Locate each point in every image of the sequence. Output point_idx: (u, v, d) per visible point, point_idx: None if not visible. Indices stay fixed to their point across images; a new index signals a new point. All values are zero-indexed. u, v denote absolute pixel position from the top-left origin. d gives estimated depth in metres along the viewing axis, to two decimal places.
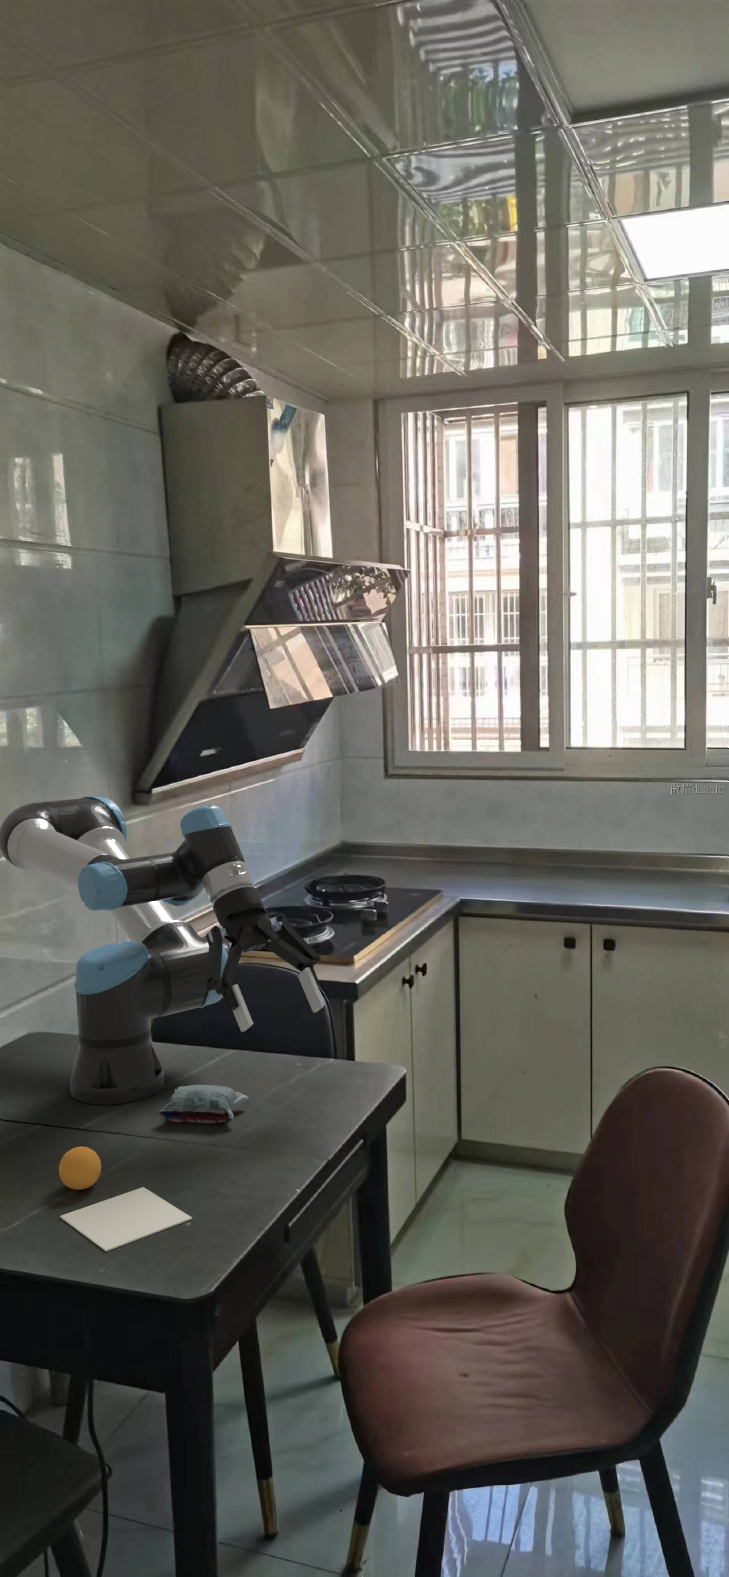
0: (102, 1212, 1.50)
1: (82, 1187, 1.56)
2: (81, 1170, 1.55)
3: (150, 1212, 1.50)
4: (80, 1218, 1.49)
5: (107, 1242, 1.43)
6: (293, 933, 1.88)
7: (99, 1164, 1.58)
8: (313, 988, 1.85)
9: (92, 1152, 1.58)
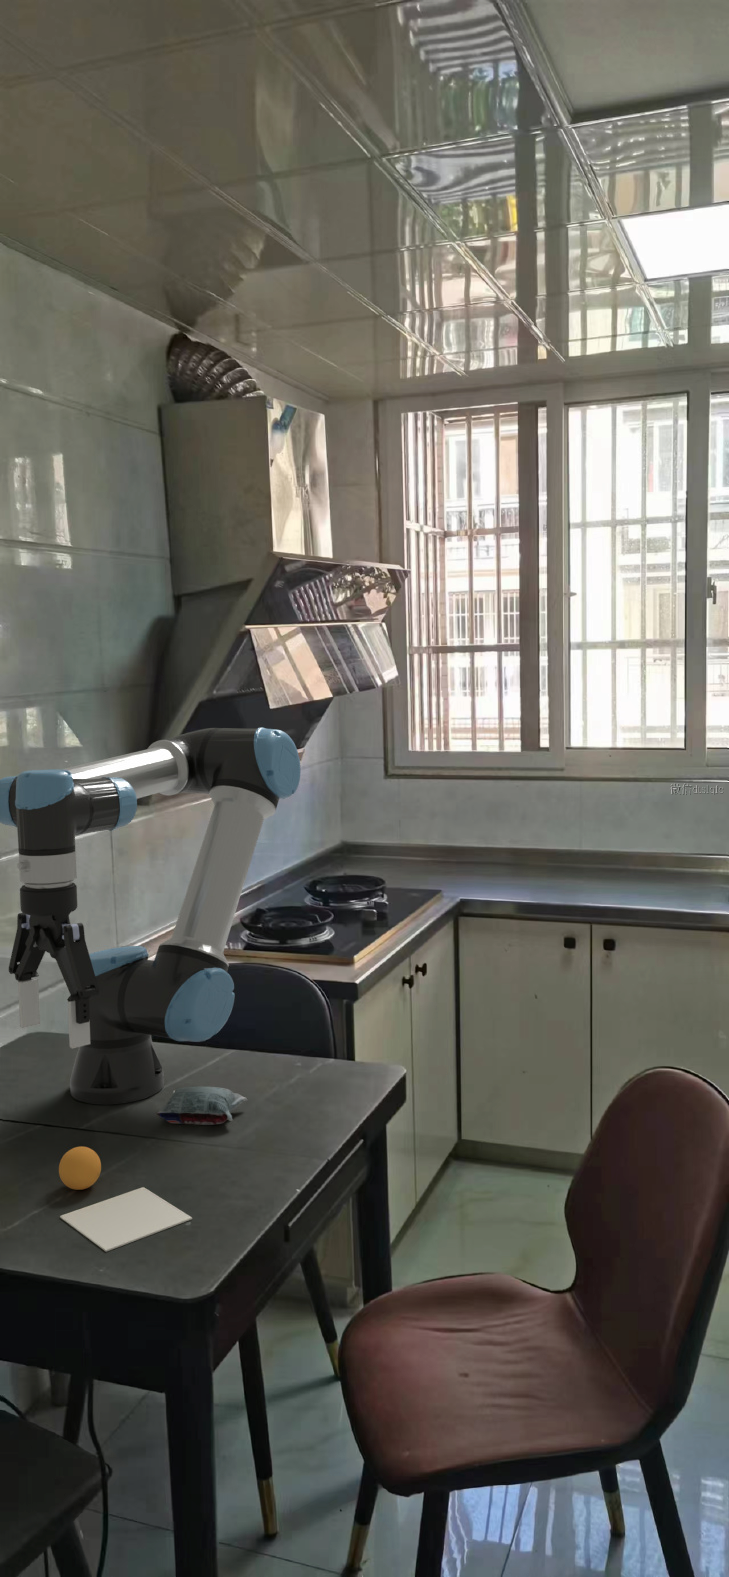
0: (102, 1212, 1.50)
1: (82, 1187, 1.56)
2: (81, 1170, 1.55)
3: (150, 1212, 1.50)
4: (80, 1218, 1.49)
5: (107, 1242, 1.43)
6: (69, 955, 1.56)
7: (99, 1164, 1.58)
8: None
9: (92, 1152, 1.58)
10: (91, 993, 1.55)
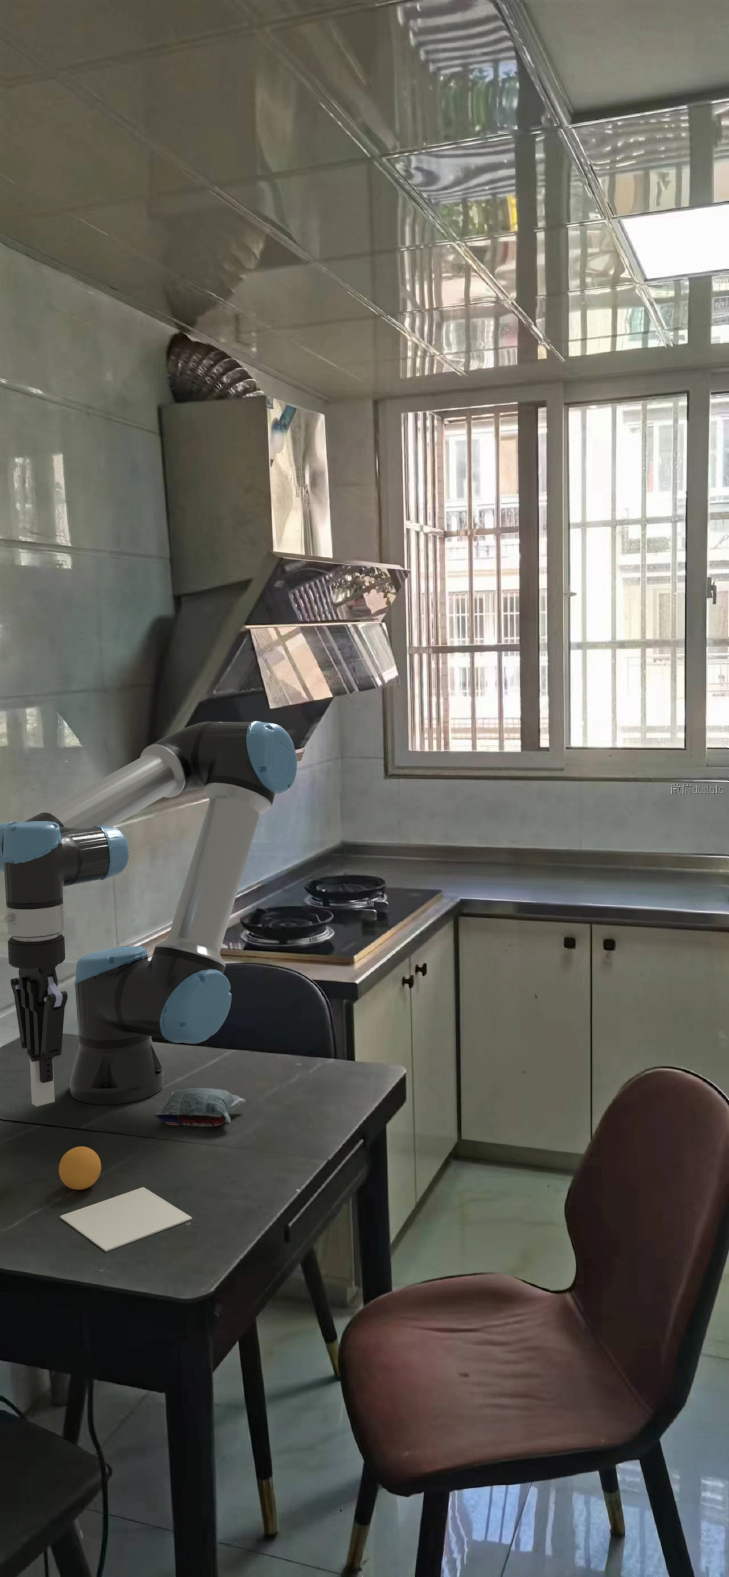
0: (102, 1212, 1.50)
1: (82, 1187, 1.56)
2: (81, 1170, 1.55)
3: (150, 1212, 1.50)
4: (80, 1218, 1.49)
5: (107, 1242, 1.43)
6: (45, 1018, 1.59)
7: (99, 1164, 1.58)
8: None
9: (92, 1152, 1.58)
10: (53, 1054, 1.60)
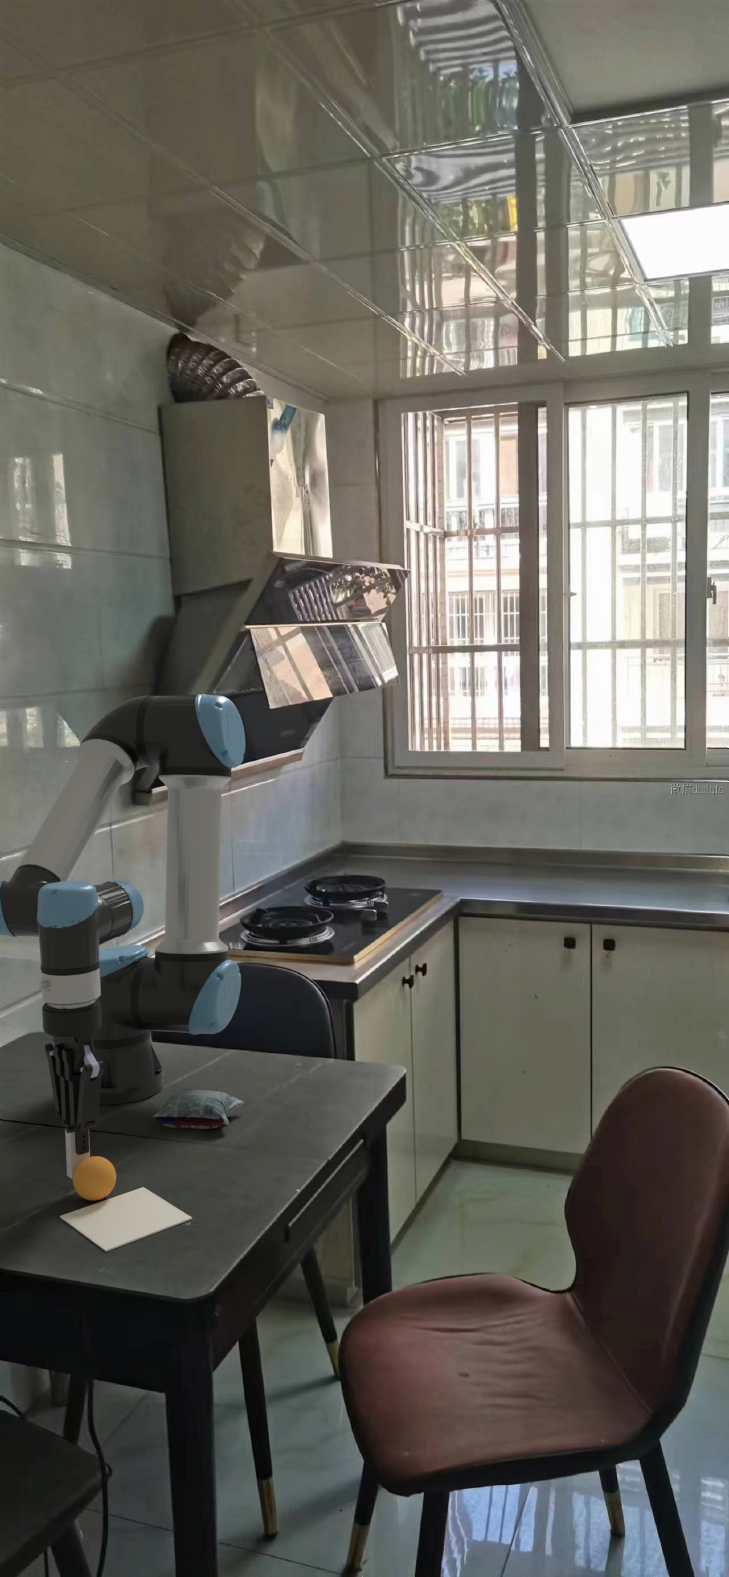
0: (102, 1212, 1.50)
1: None
2: (94, 1198, 1.53)
3: (150, 1212, 1.50)
4: (80, 1218, 1.49)
5: (107, 1242, 1.43)
6: (81, 1089, 1.52)
7: (113, 1187, 1.55)
8: None
9: (112, 1181, 1.54)
10: (89, 1125, 1.53)
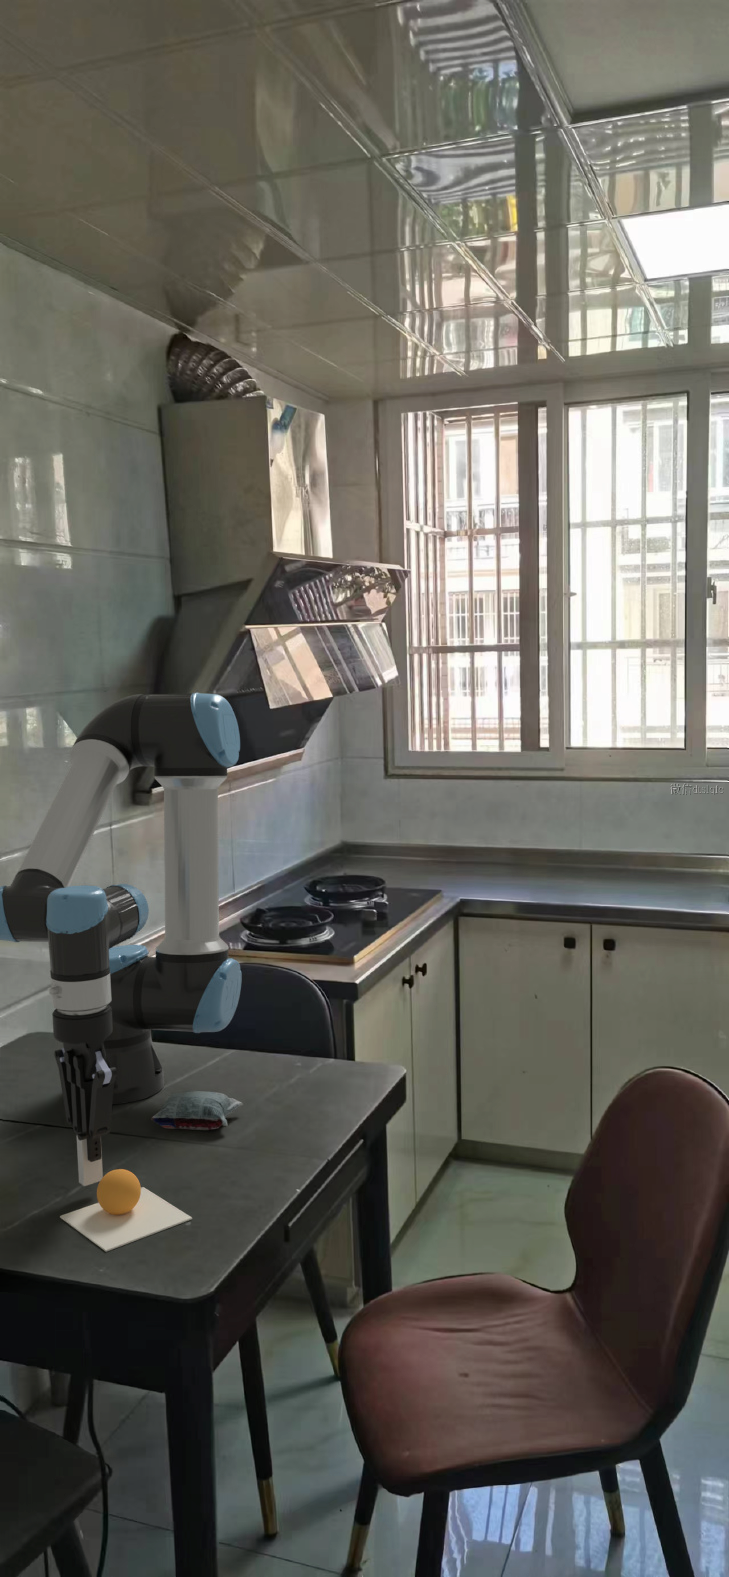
0: (102, 1212, 1.50)
1: (107, 1173, 1.51)
2: None
3: (150, 1212, 1.50)
4: (80, 1218, 1.49)
5: (107, 1242, 1.43)
6: (93, 1096, 1.50)
7: None
8: None
9: None
10: (102, 1132, 1.52)
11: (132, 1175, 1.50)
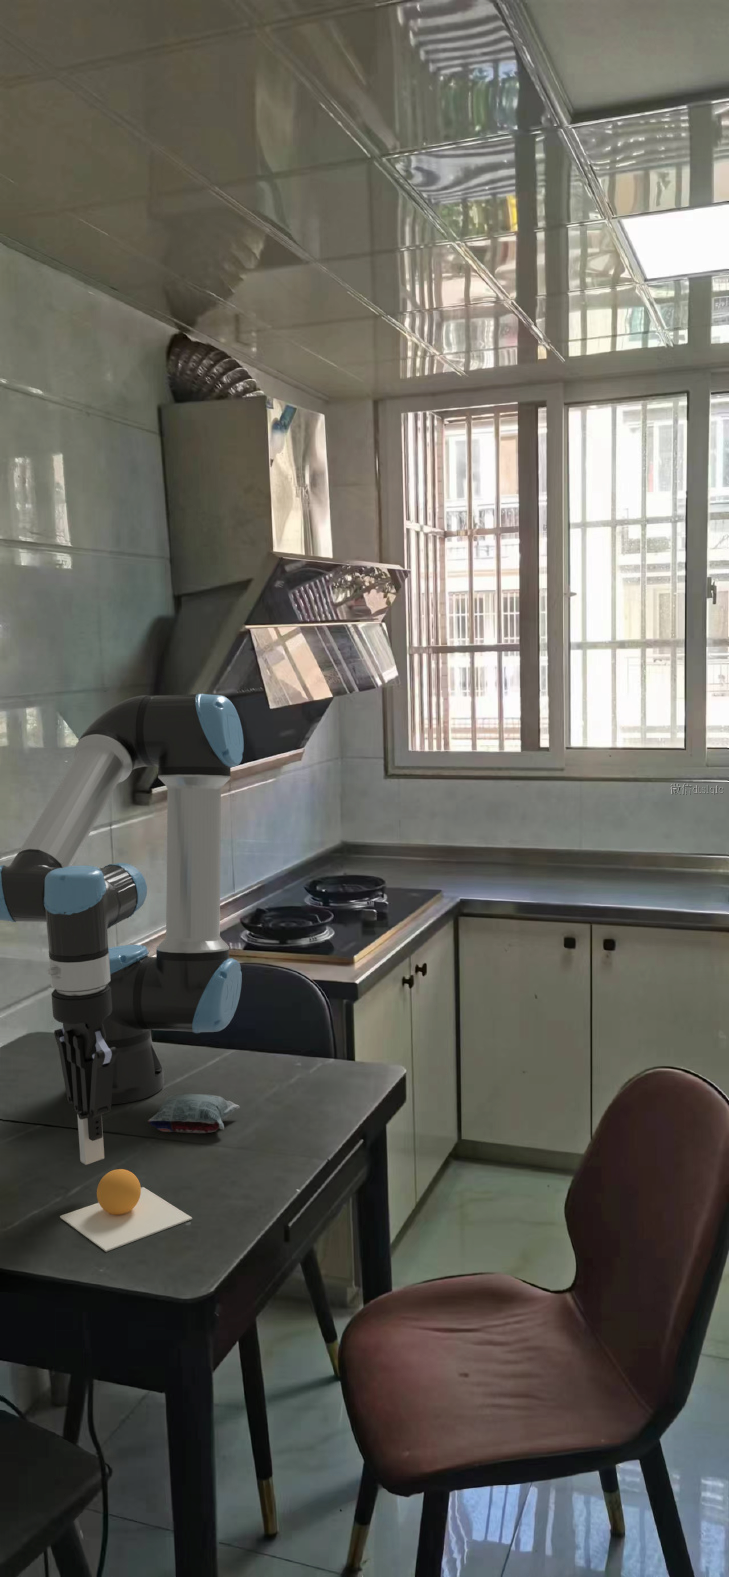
0: (102, 1212, 1.50)
1: None
2: None
3: (150, 1212, 1.50)
4: (80, 1218, 1.49)
5: (107, 1242, 1.43)
6: (93, 1076, 1.50)
7: None
8: None
9: None
10: (102, 1111, 1.52)
11: (132, 1175, 1.50)
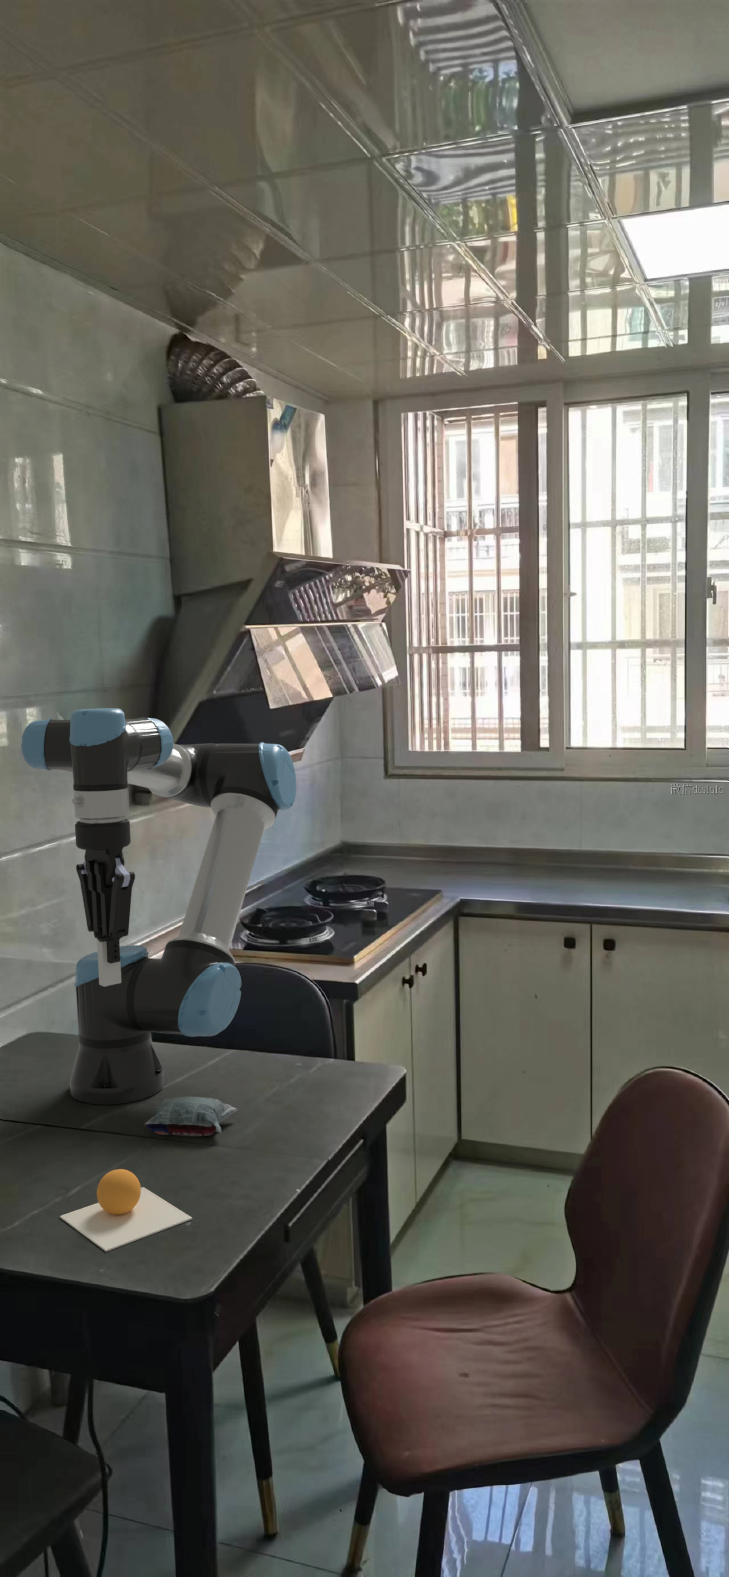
0: (102, 1212, 1.50)
1: None
2: None
3: (150, 1212, 1.50)
4: (80, 1218, 1.49)
5: (107, 1242, 1.43)
6: (113, 898, 1.63)
7: None
8: None
9: None
10: (121, 934, 1.64)
11: (132, 1175, 1.50)
